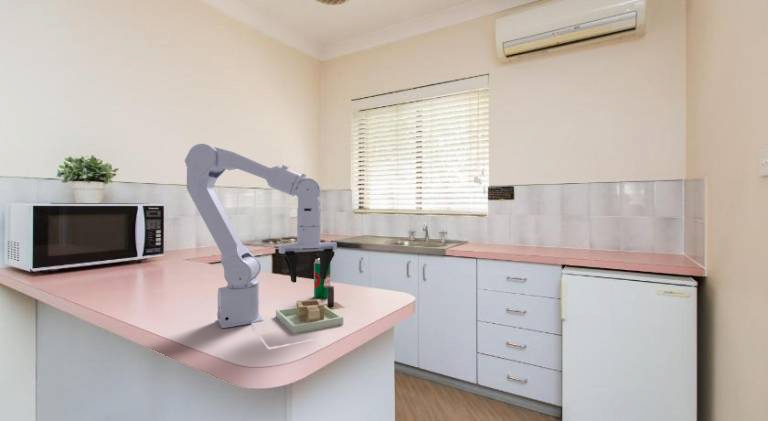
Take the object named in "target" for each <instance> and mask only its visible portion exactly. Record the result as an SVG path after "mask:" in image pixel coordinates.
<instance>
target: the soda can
mask: <svg viewBox="0 0 768 421" xmlns="http://www.w3.org/2000/svg"><path fill="white" fill-rule="evenodd" d="M314 260H315V261H314V262H313V297H314V298H315V299H320V300H323V299H324V300H325V299H327V287H328V286H332V284H331V279H332V277H331V266H332V265H331V262H332V261H331V262H330V265H329V267H328V271H327V274H326V279H321V278H320V257H319V258H315V259H314Z"/></svg>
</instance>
